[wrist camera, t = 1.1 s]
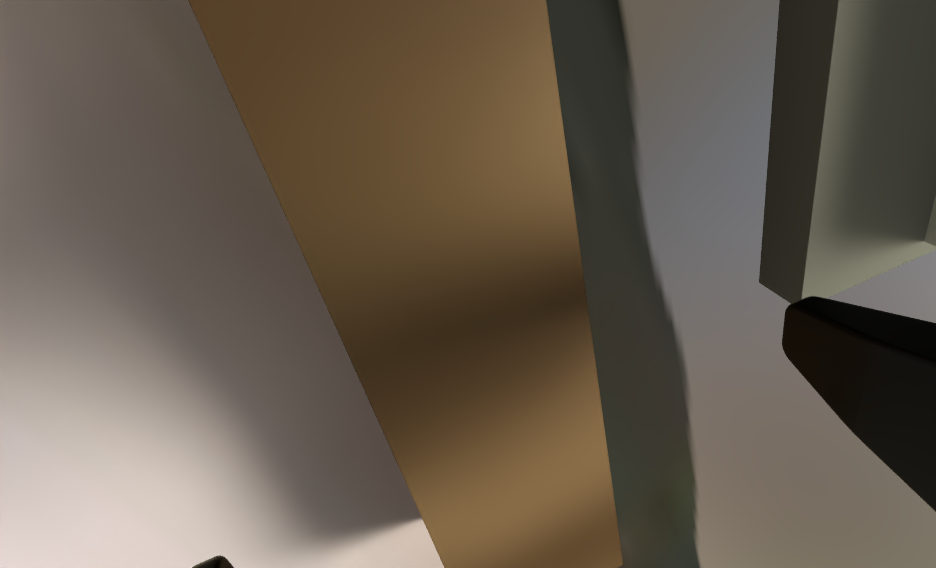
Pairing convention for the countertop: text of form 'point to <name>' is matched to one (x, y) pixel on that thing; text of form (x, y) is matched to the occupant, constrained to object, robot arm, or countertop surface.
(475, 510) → the walnut beam
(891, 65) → the ridge stand
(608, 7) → the countertop surface
